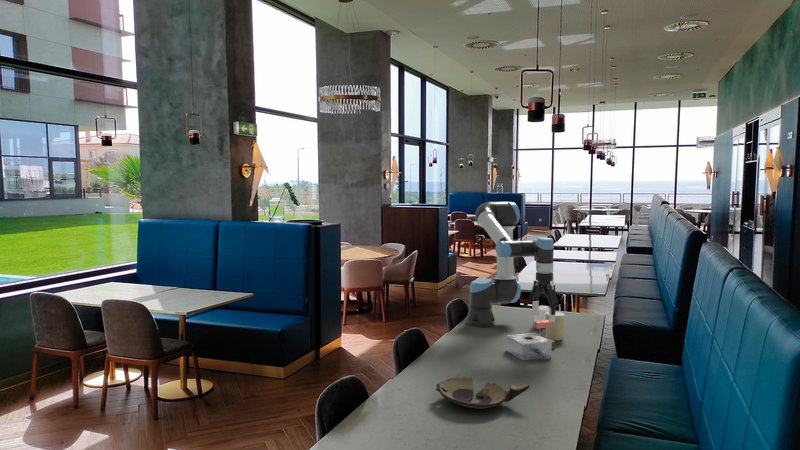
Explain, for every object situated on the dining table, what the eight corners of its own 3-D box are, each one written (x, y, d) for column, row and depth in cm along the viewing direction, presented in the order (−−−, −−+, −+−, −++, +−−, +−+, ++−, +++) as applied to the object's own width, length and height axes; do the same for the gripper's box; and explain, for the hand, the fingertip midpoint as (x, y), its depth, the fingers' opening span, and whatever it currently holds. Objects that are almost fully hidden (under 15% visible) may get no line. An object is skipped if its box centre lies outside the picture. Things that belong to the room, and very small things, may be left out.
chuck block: (506, 350, 240) (506, 335, 239) (533, 347, 244) (534, 332, 243) (533, 367, 218) (534, 350, 217) (563, 364, 222) (564, 347, 221)
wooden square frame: (530, 344, 249) (530, 338, 249) (545, 343, 251) (545, 336, 251) (539, 349, 241) (539, 343, 241) (554, 348, 244) (555, 341, 243)
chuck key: (532, 345, 247) (533, 321, 246) (547, 344, 249) (548, 319, 248) (536, 348, 243) (537, 323, 243) (552, 346, 246) (552, 321, 245)
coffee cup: (562, 335, 264) (563, 311, 263) (566, 341, 254) (567, 316, 254) (543, 334, 265) (543, 311, 264) (546, 340, 255) (547, 315, 254)
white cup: (532, 327, 278) (533, 308, 277) (533, 324, 285) (534, 305, 284) (548, 329, 275) (549, 310, 274) (549, 325, 283) (549, 306, 282)
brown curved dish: (452, 385, 198) (452, 365, 198) (532, 402, 183) (533, 380, 183) (424, 407, 179) (425, 385, 178) (512, 428, 164) (512, 404, 163)
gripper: (522, 268, 254) (522, 312, 256) (552, 276, 230) (551, 325, 232) (536, 267, 256) (536, 311, 258) (567, 275, 233) (566, 324, 234)
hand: (543, 318), depth 245 cm, fingers open, 13 cm apart
